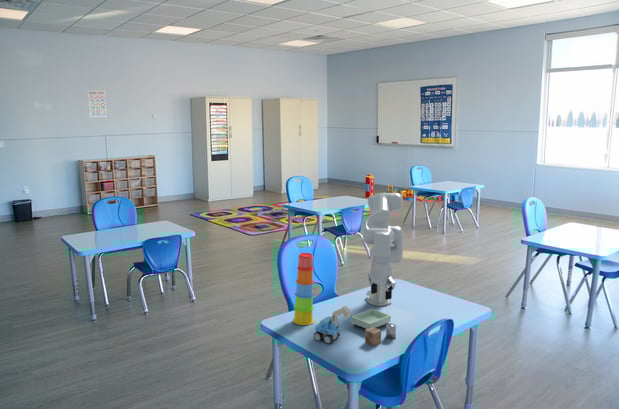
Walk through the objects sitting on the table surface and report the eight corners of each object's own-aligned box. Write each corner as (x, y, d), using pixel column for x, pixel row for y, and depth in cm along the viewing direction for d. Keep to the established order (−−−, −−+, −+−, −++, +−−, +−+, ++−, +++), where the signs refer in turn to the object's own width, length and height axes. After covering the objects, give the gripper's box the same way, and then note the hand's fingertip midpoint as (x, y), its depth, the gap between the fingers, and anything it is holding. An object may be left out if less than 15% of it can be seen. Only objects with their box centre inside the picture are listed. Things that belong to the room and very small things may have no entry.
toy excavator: (344, 348, 220) (344, 311, 217) (311, 339, 228) (311, 304, 225) (352, 341, 227) (353, 305, 224) (321, 333, 235) (321, 298, 232)
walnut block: (365, 342, 225) (365, 330, 224) (372, 339, 228) (372, 327, 227) (373, 346, 221) (373, 333, 220) (380, 342, 225) (381, 330, 224)
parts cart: (351, 326, 242) (351, 316, 242) (371, 318, 252) (372, 308, 251) (369, 334, 234) (369, 323, 233) (390, 325, 243) (390, 315, 242)
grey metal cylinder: (384, 337, 230) (384, 325, 229) (390, 334, 233) (390, 322, 232) (391, 340, 227) (391, 328, 226) (397, 337, 230) (397, 325, 229)
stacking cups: (301, 315, 256) (300, 250, 250) (317, 320, 250) (317, 253, 244) (288, 322, 247) (287, 255, 241) (305, 327, 242) (304, 258, 236)
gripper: (362, 256, 228) (362, 292, 231) (388, 264, 214) (388, 303, 216) (375, 254, 232) (374, 289, 235) (401, 262, 218) (400, 299, 220)
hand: (381, 296), depth 226 cm, fingers open, 9 cm apart
